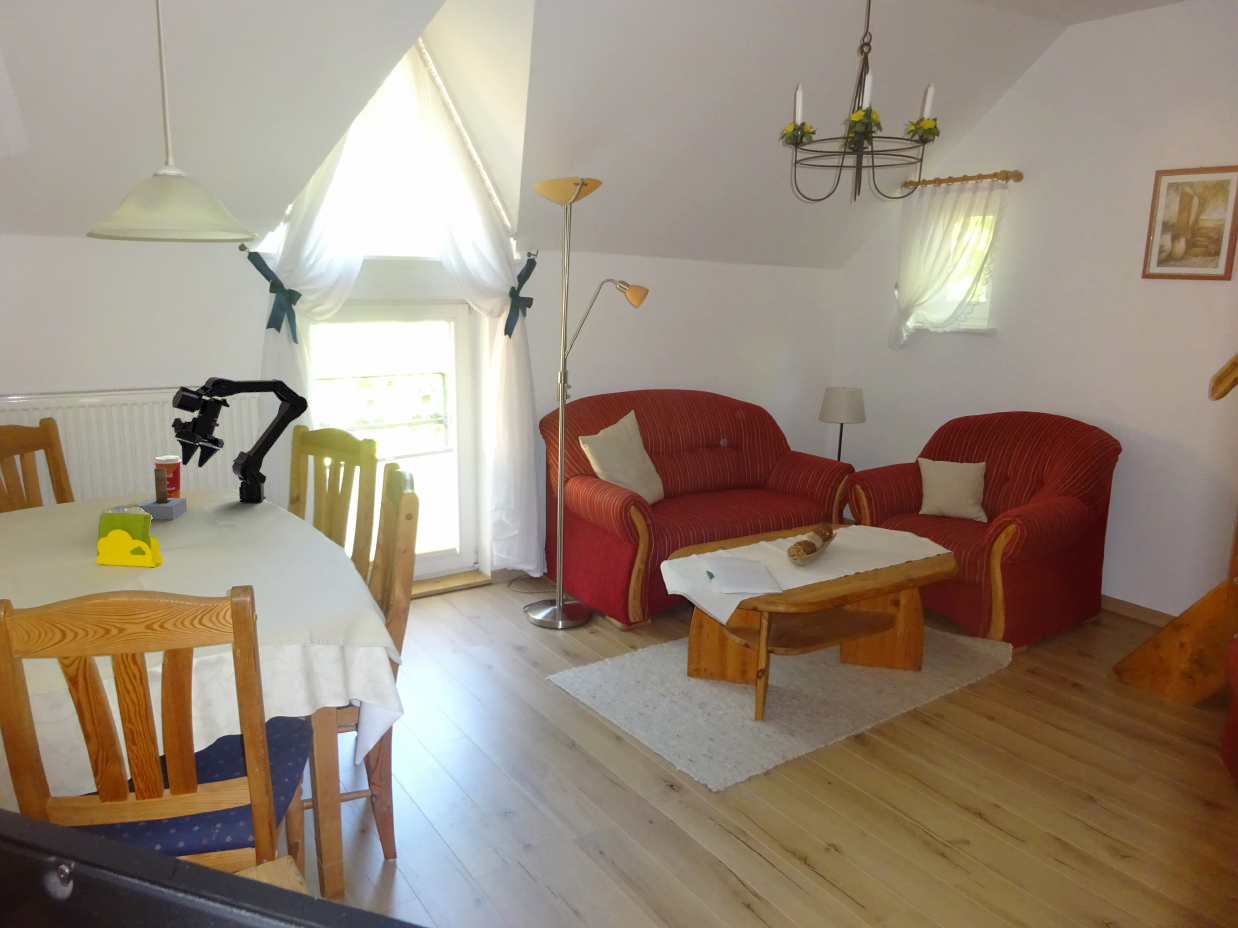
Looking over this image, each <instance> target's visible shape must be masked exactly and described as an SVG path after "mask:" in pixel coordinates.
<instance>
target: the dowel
mask: <svg viewBox="0 0 1238 928" xmlns="http://www.w3.org/2000/svg"><path fill="white" fill-rule="evenodd" d="M154 486H155V487H154V488H155V498H156V504H167V503H168V498H167V480H166V468H156V467H155V468H154Z"/></svg>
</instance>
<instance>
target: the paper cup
mask: <svg viewBox="0 0 1238 928" xmlns="http://www.w3.org/2000/svg"><path fill="white" fill-rule="evenodd" d="M153 463H154V465H155V468H166V480H167V498H181V463H182V459H181V458H180V456H179V455H173V454H172V455H171V454H170V455H161V456H156V457H155V458H154V461H153Z"/></svg>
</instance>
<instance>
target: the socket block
mask: <svg viewBox="0 0 1238 928" xmlns="http://www.w3.org/2000/svg"><path fill="white" fill-rule="evenodd" d="M187 505H188V504H187V498H186V497H185V498H184V497H180V498H168V503H167V504H156V497H150V498H149V499H147V500H144V501H143V502H141V503H139V504H137V505H136V508H137V507H140V508H142V509H143V510H144V511H145V512H147V513H149V514H150V515H152V517H153V519H152V520H172V521H173V520H175V519H177V518H178V517H180V516H182V515H183V514H184V513H187V511H188V506H187Z"/></svg>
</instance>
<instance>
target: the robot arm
mask: <svg viewBox="0 0 1238 928" xmlns="http://www.w3.org/2000/svg"><path fill="white" fill-rule="evenodd" d="M246 393H247V394H249V393H252V394H253V393H273V394H274V395H275V396H276V398H277V399H278V400H279V401H280V402H281V403H280V404H279V406H278V410H277V414H276V416H275V417H274V418H273V420H272V421H271V422H270V424H269V425H268V426H267V428H265V430H264V431H263V433H262V434H261V436H260V437H259V438H258V440H256V442H255V444H253V446H252V448H251V449H250V450H248V451H247V452H245V451H242V450H241V451H239V453H238V454H237V456H236V458H235V459H233V460H232V462H233V464H232V466H231V468H232V469H231V470H232V472H233V474H234V476H237V478H238V480H239V481H240V485H239V487H238V493H239V503H249V504H250V503H256V504H257V503H262V502H263V501H264V500H266V499H267V497H266V496H265V483H266V480H267V476H266V475H264V474H263V473H262V472H261V469H262V467H263V461H264V458H265V457H266V455H267V454H268V453H269V451H270V450H271V449H272V448H273V446H274V445H275V443H276V442H277V441H278V439H279V438H280V436H281V435H283V432H285V430H286V428H287V427H288V426H289V425H290V423H292V422H293V421H295V420H297V419H298V418H300V417H301V416H302V415H303V414H304V413H305V412H306V411H307V409H308V407H309V405H308V404H309V403H308V401H307V398H305V396H301V395H299V394H298V393H297V392H296V391H295V390H293V389H292V388H291V387H289V386H288V385H287V384H286V383H285V382H284V381H283V380H281V379H276V378H274V379H261V380H260V379H253V380H252V379H250V380H247V379H245V380H235V379H229V378H224V377H223V378H222V377H218V376H213V377H209V378H208V379H207V380H206V381H205V382H204V384H203V385H202V386H201V387H198V388H197V389H195V390H193V389H190V388H188V387H186V386H181V385H180V387H179V389H178V390H177V391H176V392H175V394H174V395H173V398H172V403H171V406H172V408H174V409H177V410H181V411H184V412H185V411H186V412H189V413H192V414H194V413H195V412H197V416H193V417H192V419H191V420H190V421H186V420H184V419H183V418H181V417H175V418H174V419H173V422H172V424H171V428H173V433H174V434H175V435H174V438H176V441H177V442H178V443H179V444H180V445H181V464H182V465H183V466H187V465H188V464H189V463H190V461H191V460H192V458H193V456H194V455H195V454H196V452H197V450H198V449H200V450H199V451H200V452H199V456H198V457H199V458H198V461H197V462H198V463H197V467H198V468H203V467H204V466H205V465H206V463H208V461H210V459H211V458H212V457H213V456H214V455H216V453H217V452H219V451H220V450H221V449H223V448H224V446H225V442H224V439H222V438H218V437H216V436H215V435H214V433H215V429H216V427H219V426H220V423H218V420H219V416H220V414H221V410H222V408H223V407H225V408H230V407H231V406H230V404H229V403H228V401H227V398H226V397H232V396H234V395H238V394H246ZM203 397H206V398H208V399H206V398H203ZM215 397H216V398H215ZM217 397H218V398H221V399H218V398H217ZM261 501H262V502H261Z"/></svg>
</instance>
